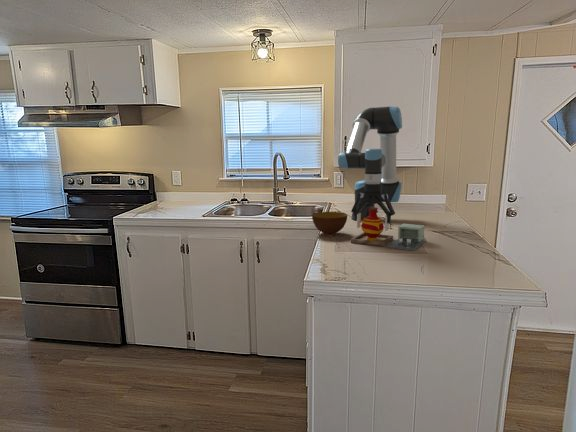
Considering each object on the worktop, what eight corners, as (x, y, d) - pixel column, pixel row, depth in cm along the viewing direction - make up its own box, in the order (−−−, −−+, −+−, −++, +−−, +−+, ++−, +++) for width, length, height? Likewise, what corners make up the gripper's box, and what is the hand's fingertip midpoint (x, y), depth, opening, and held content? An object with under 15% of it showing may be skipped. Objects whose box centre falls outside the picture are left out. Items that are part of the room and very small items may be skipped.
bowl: (305, 235, 204) (304, 215, 202) (326, 229, 217) (326, 210, 215) (333, 240, 192) (333, 219, 191) (354, 233, 205) (354, 214, 203)
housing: (398, 239, 186) (398, 226, 185) (402, 236, 192) (402, 223, 190) (419, 241, 181) (420, 228, 179) (423, 238, 186) (424, 225, 185)
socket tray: (350, 242, 187) (350, 239, 186) (363, 236, 199) (363, 232, 199) (382, 246, 179) (382, 242, 178) (393, 239, 191) (393, 235, 191)
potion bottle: (384, 238, 192) (385, 206, 190) (382, 242, 182) (383, 210, 180) (362, 236, 195) (363, 205, 193) (358, 241, 186) (360, 208, 183)
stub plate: (388, 247, 177) (388, 239, 176) (402, 238, 193) (402, 230, 193) (414, 250, 171) (414, 242, 170) (425, 240, 188) (426, 233, 187)
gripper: (344, 182, 187) (344, 227, 191) (397, 184, 174) (396, 232, 178) (350, 181, 194) (350, 224, 197) (402, 183, 180) (401, 229, 184)
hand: (372, 228), depth 188 cm, fingers open, 13 cm apart
